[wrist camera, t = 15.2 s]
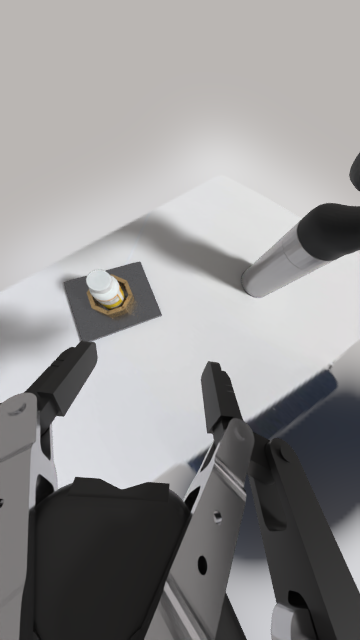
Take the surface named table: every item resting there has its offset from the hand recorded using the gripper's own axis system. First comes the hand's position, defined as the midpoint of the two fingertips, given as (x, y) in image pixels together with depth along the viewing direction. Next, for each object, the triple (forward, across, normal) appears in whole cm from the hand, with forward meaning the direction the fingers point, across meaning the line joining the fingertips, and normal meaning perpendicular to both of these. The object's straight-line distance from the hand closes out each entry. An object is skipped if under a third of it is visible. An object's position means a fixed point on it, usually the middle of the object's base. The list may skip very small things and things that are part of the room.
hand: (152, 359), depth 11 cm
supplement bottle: (+24, +12, +9) cm, 28 cm away
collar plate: (+25, +12, +10) cm, 29 cm away
